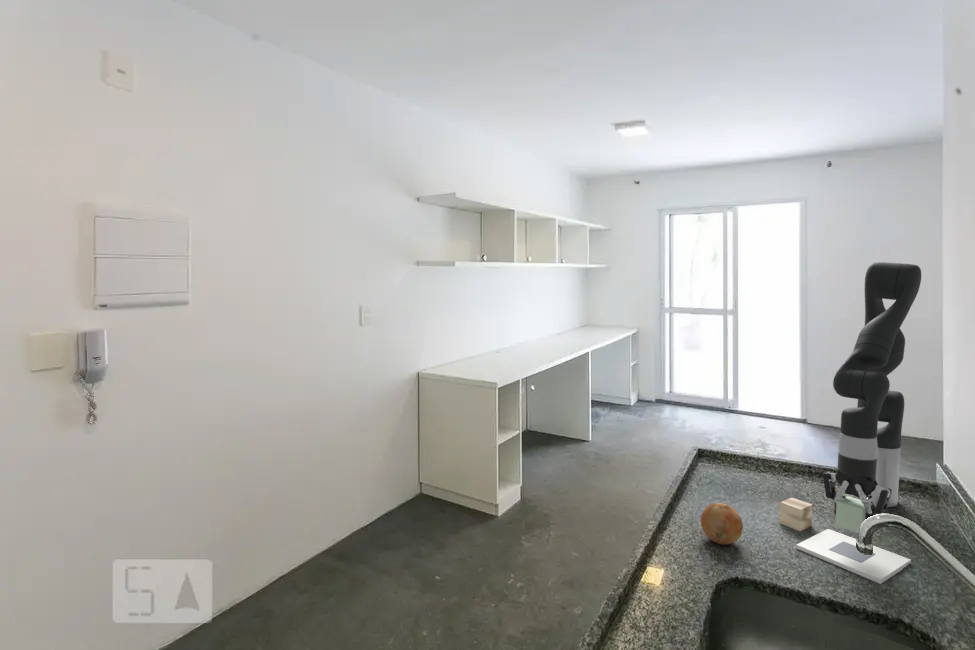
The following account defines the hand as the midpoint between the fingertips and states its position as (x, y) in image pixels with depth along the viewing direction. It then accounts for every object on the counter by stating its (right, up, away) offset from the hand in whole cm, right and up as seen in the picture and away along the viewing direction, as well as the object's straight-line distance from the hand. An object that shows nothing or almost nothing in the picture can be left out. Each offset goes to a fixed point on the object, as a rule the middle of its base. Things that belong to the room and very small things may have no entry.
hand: (853, 522), depth 126 cm
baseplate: (0, -8, +1) cm, 8 cm away
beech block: (-4, -7, +17) cm, 19 cm away
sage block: (0, -1, 0) cm, 1 cm away
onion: (-28, -8, +8) cm, 30 cm away
